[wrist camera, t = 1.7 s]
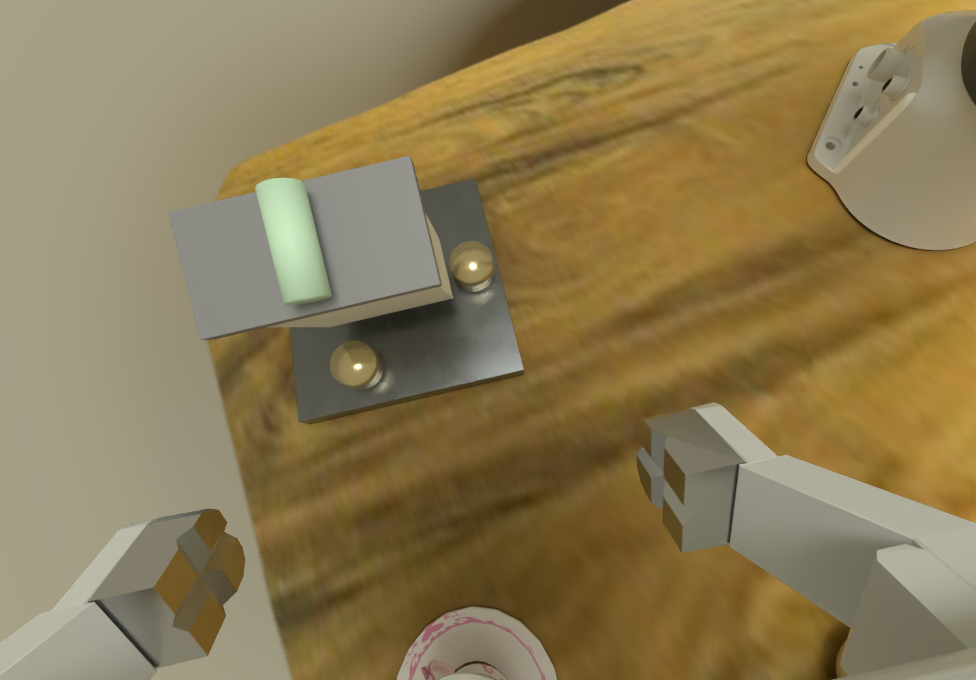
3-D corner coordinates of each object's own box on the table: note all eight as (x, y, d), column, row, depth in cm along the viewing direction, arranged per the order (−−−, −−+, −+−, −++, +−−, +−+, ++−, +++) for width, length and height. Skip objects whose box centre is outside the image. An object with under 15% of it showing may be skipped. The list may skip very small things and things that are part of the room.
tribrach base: (291, 234, 42) (266, 209, 38) (477, 191, 42) (472, 161, 38) (310, 423, 37) (283, 419, 32) (523, 374, 37) (524, 363, 32)
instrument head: (320, 267, 37) (131, 199, 17) (446, 238, 37) (401, 135, 17) (336, 334, 37) (167, 341, 18) (462, 304, 37) (434, 278, 17)
